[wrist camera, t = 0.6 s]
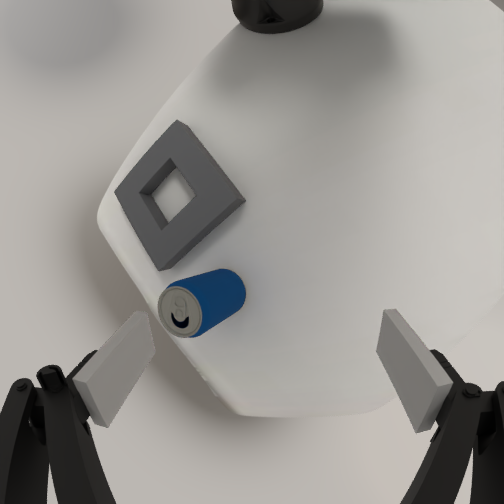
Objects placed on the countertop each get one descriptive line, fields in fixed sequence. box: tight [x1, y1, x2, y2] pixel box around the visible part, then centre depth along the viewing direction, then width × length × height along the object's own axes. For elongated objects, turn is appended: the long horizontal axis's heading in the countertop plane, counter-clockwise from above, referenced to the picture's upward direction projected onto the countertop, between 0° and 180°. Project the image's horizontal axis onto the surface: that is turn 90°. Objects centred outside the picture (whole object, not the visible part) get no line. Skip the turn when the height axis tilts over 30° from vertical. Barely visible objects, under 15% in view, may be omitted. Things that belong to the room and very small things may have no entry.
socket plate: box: [114, 120, 246, 271], centre depth 40 cm, size 16×16×3 cm
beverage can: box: [158, 269, 246, 338], centre depth 34 cm, size 6×6×12 cm
